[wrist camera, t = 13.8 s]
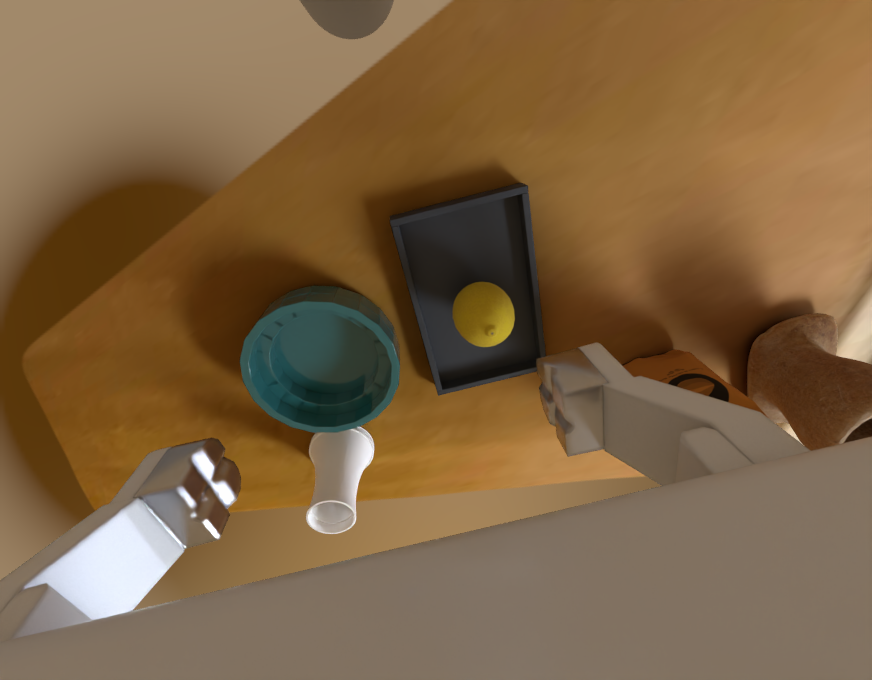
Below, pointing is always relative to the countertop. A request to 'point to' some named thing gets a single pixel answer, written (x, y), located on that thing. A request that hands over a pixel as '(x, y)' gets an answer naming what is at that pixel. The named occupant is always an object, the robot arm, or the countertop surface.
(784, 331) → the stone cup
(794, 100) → the countertop surface
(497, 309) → the lemon
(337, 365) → the bowl
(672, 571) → the robot arm
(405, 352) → the countertop surface
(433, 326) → the tray
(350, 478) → the vase
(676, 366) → the coffee package
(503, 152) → the countertop surface
